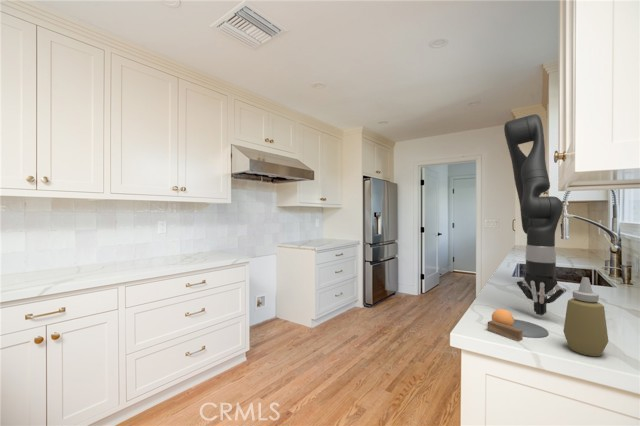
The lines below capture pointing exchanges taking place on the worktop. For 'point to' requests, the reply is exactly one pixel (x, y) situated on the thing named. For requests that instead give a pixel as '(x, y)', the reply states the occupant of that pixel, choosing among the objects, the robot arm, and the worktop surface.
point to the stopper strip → (505, 330)
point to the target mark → (530, 329)
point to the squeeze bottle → (585, 321)
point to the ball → (503, 317)
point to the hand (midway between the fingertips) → (539, 314)
